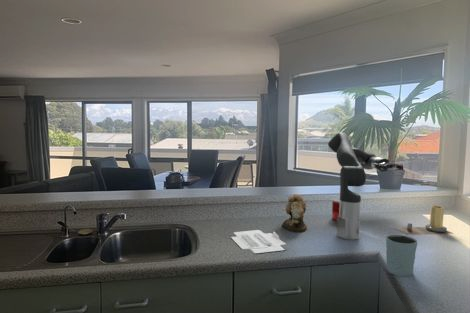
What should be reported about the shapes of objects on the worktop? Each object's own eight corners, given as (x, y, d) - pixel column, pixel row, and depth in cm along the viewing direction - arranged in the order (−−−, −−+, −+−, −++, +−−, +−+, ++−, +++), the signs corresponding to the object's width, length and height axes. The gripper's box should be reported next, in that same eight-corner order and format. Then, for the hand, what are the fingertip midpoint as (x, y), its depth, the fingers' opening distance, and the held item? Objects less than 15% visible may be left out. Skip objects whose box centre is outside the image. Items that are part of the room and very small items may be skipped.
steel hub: (437, 233, 162) (438, 221, 161) (421, 228, 170) (421, 216, 169) (450, 231, 165) (451, 219, 164) (433, 226, 173) (434, 215, 173)
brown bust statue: (278, 222, 183) (278, 190, 181) (299, 221, 184) (300, 190, 183) (288, 233, 165) (289, 198, 163) (311, 232, 167) (312, 197, 165)
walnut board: (406, 237, 160) (407, 227, 159) (393, 230, 171) (393, 220, 170) (453, 236, 163) (454, 226, 162) (437, 229, 174) (437, 219, 173)
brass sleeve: (437, 229, 164) (438, 208, 163) (427, 226, 169) (428, 206, 168) (444, 228, 166) (446, 207, 165) (434, 225, 171) (436, 205, 170)
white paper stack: (247, 256, 136) (247, 247, 136) (226, 237, 163) (226, 229, 163) (292, 251, 143) (293, 242, 143) (265, 233, 169) (265, 225, 169)
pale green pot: (384, 274, 120) (386, 241, 119) (383, 263, 130) (385, 232, 128) (417, 279, 117) (419, 245, 115) (413, 267, 126) (415, 236, 125)
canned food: (341, 222, 184) (342, 202, 183) (329, 219, 190) (329, 199, 189) (349, 220, 189) (350, 200, 188) (336, 216, 195) (337, 198, 194)
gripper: (368, 157, 196) (381, 160, 180) (392, 157, 197) (408, 160, 181) (368, 170, 197) (380, 174, 181) (392, 170, 198) (407, 174, 182)
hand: (394, 167), depth 181 cm, fingers open, 8 cm apart
